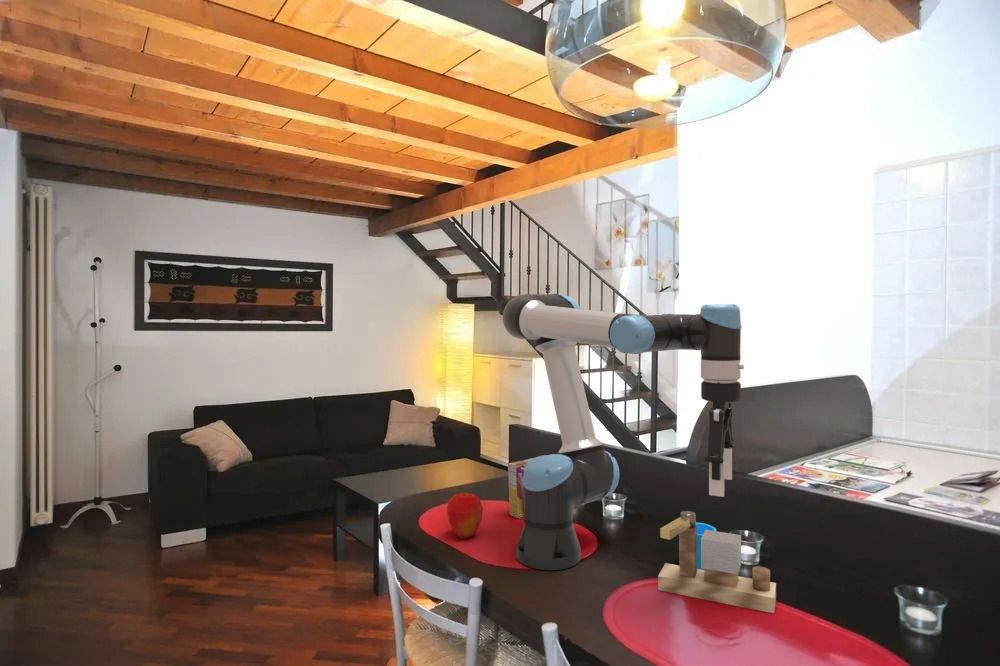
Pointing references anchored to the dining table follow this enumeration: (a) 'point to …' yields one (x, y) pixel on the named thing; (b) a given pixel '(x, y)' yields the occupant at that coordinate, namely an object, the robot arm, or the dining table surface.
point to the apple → (464, 514)
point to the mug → (700, 532)
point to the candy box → (516, 488)
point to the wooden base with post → (716, 580)
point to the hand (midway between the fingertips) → (721, 486)
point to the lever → (678, 525)
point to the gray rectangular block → (721, 551)
